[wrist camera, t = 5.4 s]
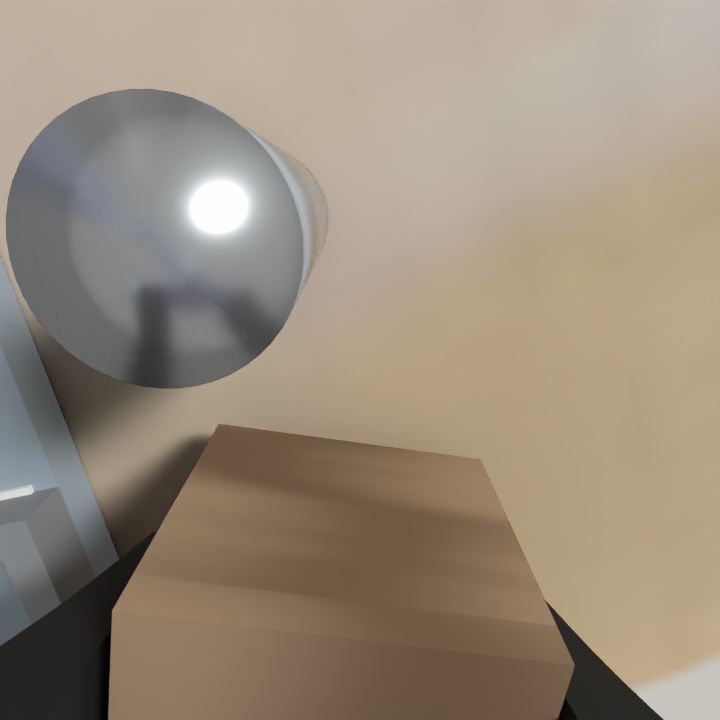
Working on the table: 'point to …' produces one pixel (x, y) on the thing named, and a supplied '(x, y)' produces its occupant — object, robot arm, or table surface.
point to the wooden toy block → (334, 593)
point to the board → (39, 487)
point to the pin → (161, 237)
